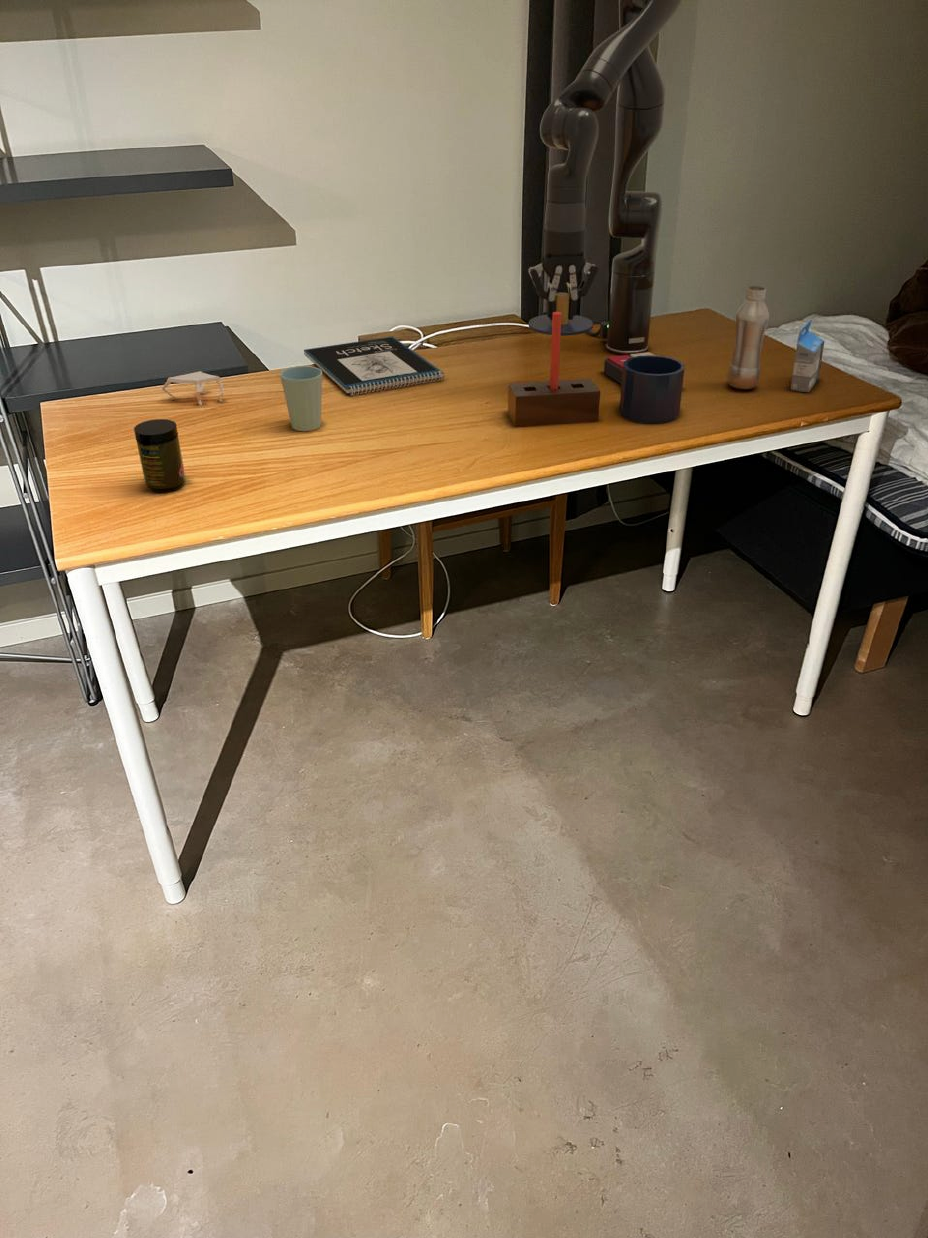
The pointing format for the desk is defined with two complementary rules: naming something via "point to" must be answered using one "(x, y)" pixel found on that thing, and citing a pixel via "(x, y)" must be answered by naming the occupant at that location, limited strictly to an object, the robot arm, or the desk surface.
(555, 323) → the straw
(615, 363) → the calculator
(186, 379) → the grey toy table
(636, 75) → the robot arm
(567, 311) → the tin lid
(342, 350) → the sketchbook
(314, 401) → the cup
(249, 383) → the desk surface
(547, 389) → the straw holder
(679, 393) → the tin
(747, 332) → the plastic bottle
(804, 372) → the label tape box
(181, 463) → the supplement container
